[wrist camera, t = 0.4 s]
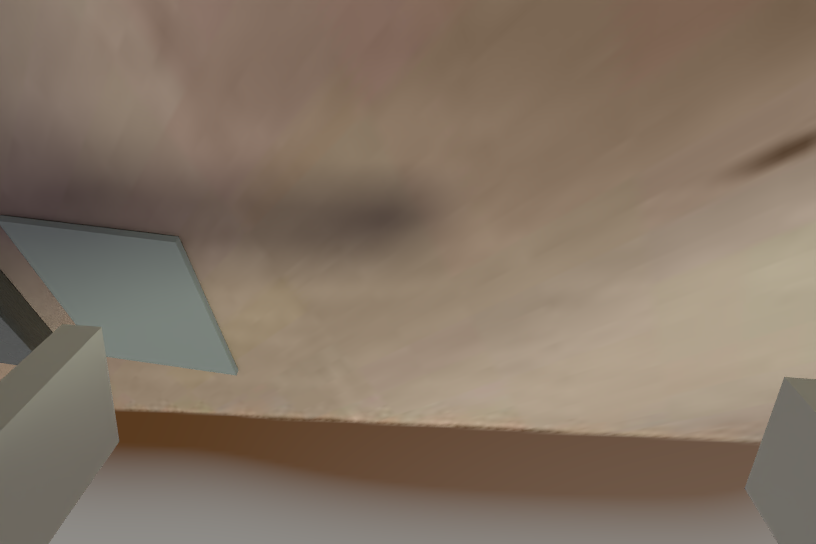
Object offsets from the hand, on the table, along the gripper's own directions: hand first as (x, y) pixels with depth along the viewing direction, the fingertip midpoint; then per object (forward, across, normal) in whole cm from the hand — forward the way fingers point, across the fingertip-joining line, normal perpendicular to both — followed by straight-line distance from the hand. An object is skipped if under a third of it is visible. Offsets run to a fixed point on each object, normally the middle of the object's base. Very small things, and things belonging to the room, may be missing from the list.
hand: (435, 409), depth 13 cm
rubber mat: (+24, -18, -11) cm, 32 cm away
